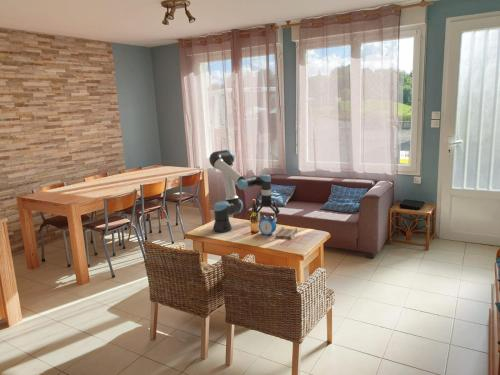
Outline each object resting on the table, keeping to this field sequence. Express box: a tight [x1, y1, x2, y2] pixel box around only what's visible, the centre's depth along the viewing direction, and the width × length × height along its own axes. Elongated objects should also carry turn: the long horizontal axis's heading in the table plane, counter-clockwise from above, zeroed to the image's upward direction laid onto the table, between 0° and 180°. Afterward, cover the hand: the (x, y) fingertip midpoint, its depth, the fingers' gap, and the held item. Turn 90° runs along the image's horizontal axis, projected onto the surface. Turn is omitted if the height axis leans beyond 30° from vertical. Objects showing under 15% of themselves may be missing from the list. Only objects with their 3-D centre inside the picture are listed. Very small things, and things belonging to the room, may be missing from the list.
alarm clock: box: [258, 214, 277, 236], centre depth 317 cm, size 13×6×15 cm, turn 63°
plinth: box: [275, 226, 298, 240], centre depth 315 cm, size 12×18×4 cm
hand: (267, 221), depth 316 cm, fingers open, 13 cm apart
